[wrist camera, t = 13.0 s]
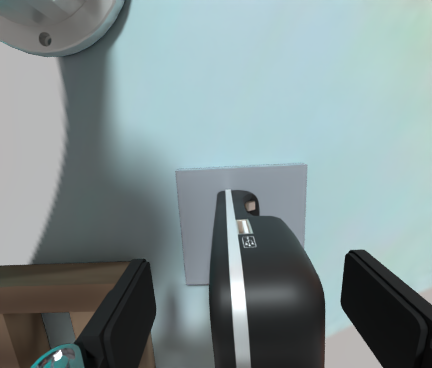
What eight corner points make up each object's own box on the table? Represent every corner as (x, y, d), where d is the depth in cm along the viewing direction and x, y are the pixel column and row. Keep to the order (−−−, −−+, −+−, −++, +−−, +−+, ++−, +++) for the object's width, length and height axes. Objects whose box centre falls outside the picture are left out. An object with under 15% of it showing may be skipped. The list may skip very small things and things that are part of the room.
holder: (-25, 266, 20) (-66, 288, 17) (140, 261, 20) (125, 283, 17) (13, 379, 23) (-17, 415, 20) (157, 378, 22) (147, 414, 20)
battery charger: (268, 264, 18) (342, 471, 7) (223, 267, 18) (224, 472, 7) (265, 183, 17) (353, 281, 5) (216, 187, 17) (203, 288, 6)
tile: (178, 169, 18) (175, 171, 17) (302, 163, 17) (307, 164, 16) (188, 277, 20) (186, 284, 19) (298, 274, 19) (302, 281, 18)
